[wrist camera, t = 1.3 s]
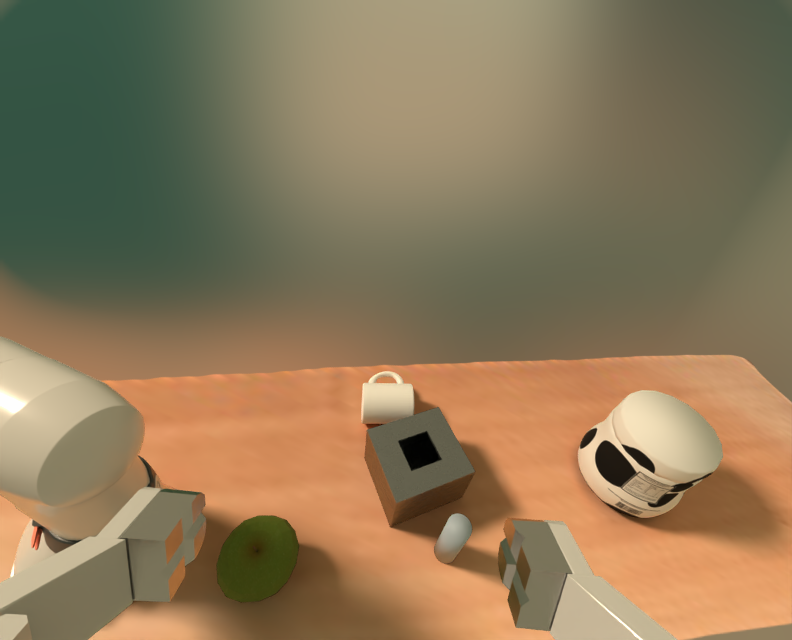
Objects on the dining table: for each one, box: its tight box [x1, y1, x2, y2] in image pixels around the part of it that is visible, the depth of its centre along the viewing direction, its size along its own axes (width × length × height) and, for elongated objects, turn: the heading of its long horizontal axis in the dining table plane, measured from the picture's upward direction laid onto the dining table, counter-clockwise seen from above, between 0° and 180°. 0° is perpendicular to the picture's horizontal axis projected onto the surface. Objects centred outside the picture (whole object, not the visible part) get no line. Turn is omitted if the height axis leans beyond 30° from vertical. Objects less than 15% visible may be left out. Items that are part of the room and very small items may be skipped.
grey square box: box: [365, 407, 475, 527], centre depth 66 cm, size 14×13×10 cm
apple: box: [217, 516, 299, 602], centre depth 54 cm, size 11×10×10 cm
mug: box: [362, 371, 414, 424], centre depth 78 cm, size 12×10×8 cm
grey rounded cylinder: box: [434, 513, 472, 564], centre depth 57 cm, size 4×4×11 cm
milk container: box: [578, 390, 723, 518], centre depth 68 cm, size 17×17×18 cm
